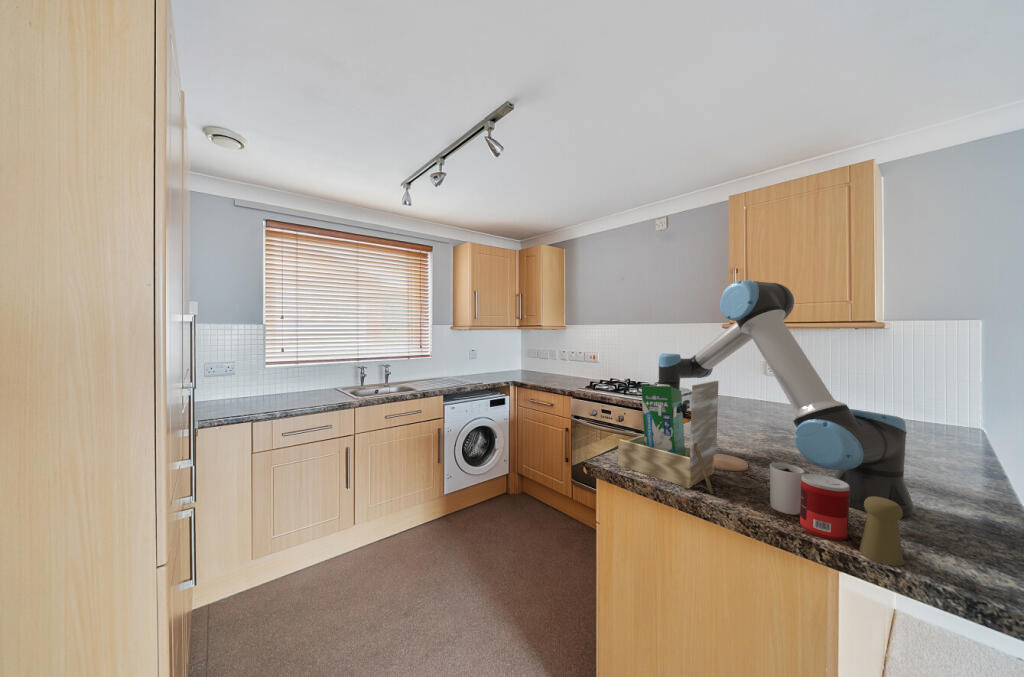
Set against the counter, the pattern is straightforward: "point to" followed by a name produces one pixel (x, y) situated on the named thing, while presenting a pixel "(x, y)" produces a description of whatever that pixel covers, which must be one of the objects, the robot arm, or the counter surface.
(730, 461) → the peach round coaster
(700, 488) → the counter surface
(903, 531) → the counter surface
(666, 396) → the milk carton
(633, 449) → the cold frame
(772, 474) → the white cylindrical container
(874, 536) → the cork
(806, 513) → the canned food
